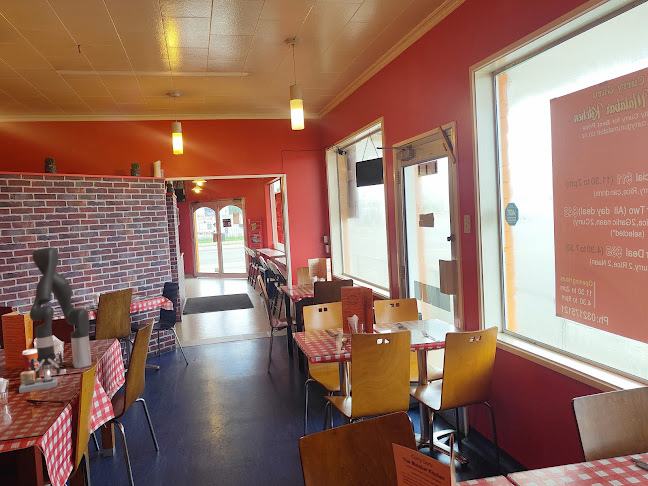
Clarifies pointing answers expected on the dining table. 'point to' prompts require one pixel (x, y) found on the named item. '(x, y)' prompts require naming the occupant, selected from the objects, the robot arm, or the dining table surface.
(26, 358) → the paper cup
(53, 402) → the dining table surface
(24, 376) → the tan wooden cube
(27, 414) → the dining table surface
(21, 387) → the board
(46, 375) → the peg
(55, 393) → the dining table surface
